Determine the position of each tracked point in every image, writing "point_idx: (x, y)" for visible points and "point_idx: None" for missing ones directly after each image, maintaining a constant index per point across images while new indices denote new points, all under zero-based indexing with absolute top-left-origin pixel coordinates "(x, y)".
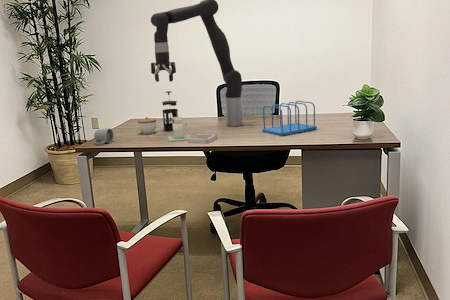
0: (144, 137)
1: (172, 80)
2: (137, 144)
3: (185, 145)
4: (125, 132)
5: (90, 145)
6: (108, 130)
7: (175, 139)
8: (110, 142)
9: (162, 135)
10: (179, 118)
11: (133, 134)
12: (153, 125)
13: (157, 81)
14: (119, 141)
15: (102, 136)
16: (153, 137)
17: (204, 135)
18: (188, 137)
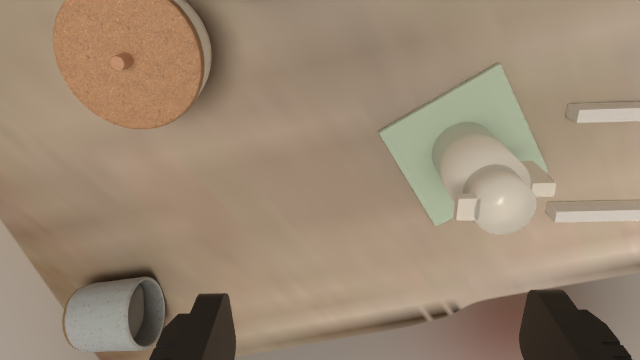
0: (241, 164)
1: (565, 293)
2: (312, 292)
3: (553, 264)
4: (10, 67)
5: None
6: (110, 311)
7: None
8: (162, 293)
9: (313, 94)
10: (525, 221)
11: None
12: (209, 66)
13: (234, 339)
14: (181, 264)
15: (138, 341)
16: (292, 153)
17: (628, 120)
18: (519, 138)
